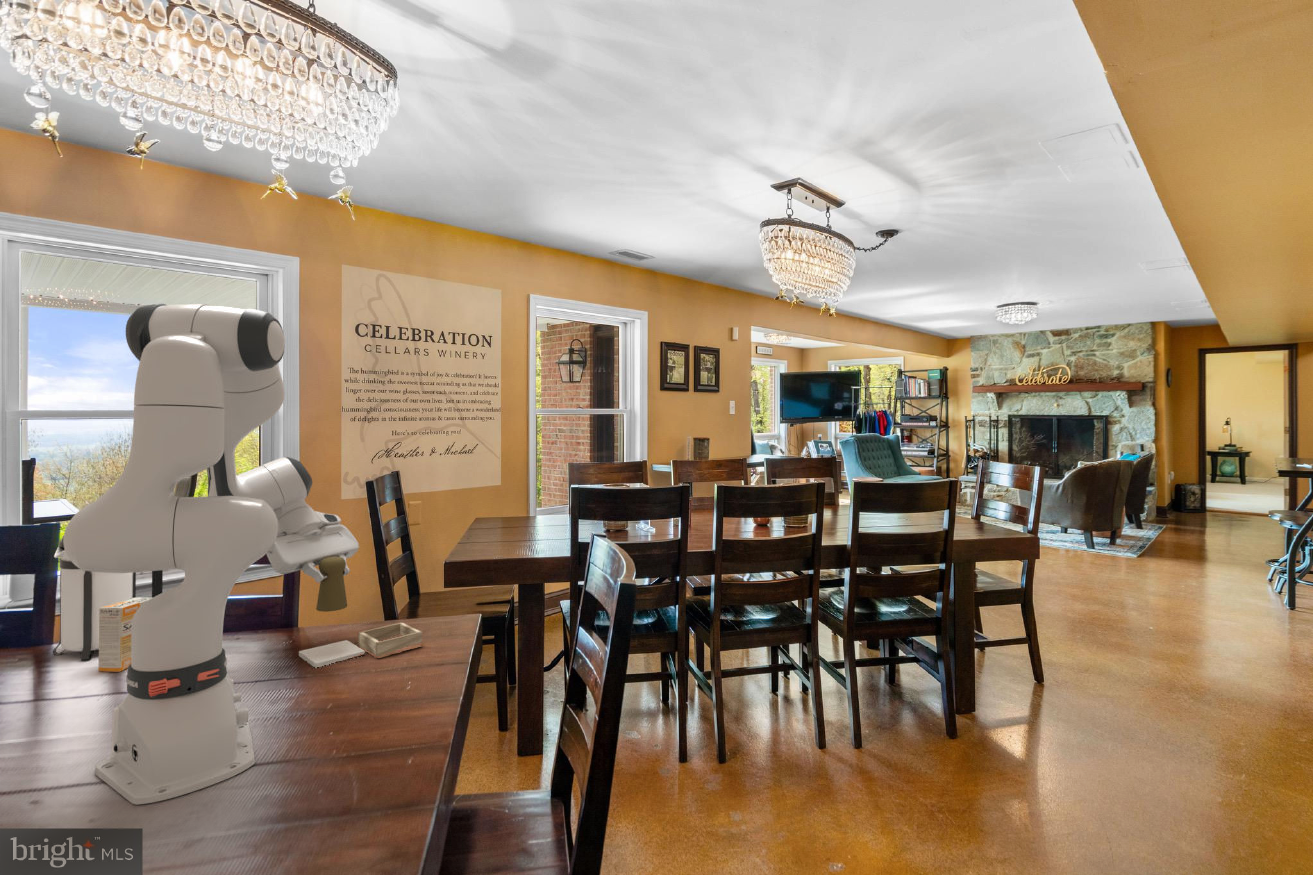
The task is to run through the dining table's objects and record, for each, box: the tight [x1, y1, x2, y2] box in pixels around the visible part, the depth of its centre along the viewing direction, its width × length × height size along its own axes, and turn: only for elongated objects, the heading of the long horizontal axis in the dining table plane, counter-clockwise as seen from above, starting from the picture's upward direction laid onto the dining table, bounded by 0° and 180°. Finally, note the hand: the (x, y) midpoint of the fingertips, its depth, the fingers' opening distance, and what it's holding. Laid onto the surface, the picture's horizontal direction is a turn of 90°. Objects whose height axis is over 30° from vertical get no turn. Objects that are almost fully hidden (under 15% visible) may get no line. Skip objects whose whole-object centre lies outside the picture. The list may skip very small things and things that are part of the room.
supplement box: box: [98, 596, 152, 673], centre depth 126 cm, size 8×5×13 cm, turn 179°
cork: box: [315, 557, 348, 613], centre depth 132 cm, size 6×6×11 cm
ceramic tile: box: [298, 639, 366, 669], centre depth 132 cm, size 10×10×1 cm
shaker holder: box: [357, 622, 423, 656], centre depth 138 cm, size 10×10×4 cm
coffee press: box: [52, 535, 164, 662], centre depth 135 cm, size 17×16×30 cm
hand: (334, 577), depth 132 cm, fingers closed on cork, 5 cm apart
